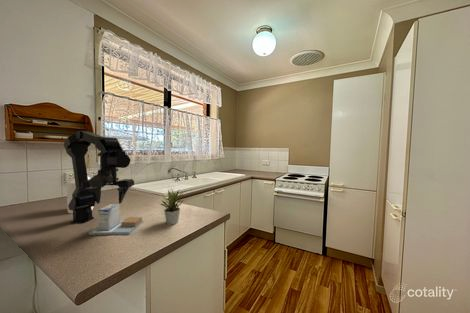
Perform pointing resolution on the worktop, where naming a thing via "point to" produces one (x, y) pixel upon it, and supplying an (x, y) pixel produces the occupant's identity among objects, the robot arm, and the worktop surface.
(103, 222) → the medicine box
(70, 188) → the bottle
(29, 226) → the worktop surface
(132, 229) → the board
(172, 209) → the house plant
